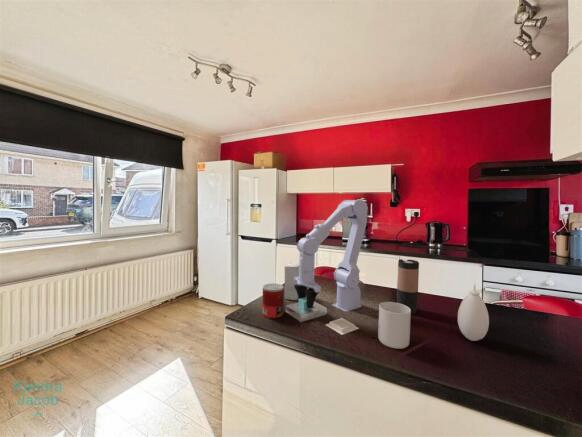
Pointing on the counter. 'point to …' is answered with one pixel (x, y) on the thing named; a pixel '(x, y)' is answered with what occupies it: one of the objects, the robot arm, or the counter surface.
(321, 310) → the port panel
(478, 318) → the sauce bottle
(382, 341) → the mug
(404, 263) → the travel mug
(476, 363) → the counter surface
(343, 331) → the white square dish
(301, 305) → the plug
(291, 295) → the skincare box
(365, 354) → the counter surface
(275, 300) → the canned food
